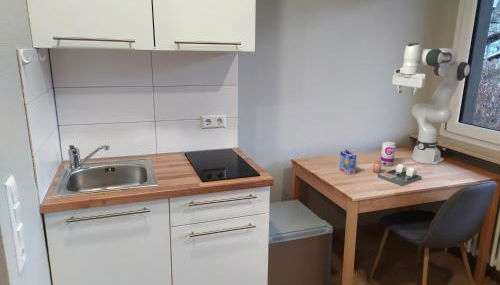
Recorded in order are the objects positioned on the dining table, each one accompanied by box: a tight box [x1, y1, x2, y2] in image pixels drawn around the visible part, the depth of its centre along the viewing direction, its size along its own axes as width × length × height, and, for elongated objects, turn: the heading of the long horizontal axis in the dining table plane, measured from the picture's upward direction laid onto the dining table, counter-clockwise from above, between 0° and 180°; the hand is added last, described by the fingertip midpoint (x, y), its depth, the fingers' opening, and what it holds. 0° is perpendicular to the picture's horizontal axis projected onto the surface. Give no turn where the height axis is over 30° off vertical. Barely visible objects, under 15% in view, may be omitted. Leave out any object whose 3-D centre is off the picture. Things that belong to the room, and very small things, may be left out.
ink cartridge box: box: [338, 148, 357, 176], centre depth 225 cm, size 10×6×14 cm, turn 20°
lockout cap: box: [372, 160, 383, 174], centre depth 226 cm, size 5×5×7 cm
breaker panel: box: [377, 168, 422, 186], centre depth 217 cm, size 20×16×3 cm
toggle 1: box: [395, 163, 407, 173], centre depth 222 cm, size 4×4×5 cm
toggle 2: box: [406, 166, 418, 176], centre depth 216 cm, size 4×4×5 cm
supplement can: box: [379, 141, 396, 167], centre depth 240 cm, size 8×8×15 cm
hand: (406, 94), depth 222 cm, fingers open, 8 cm apart
